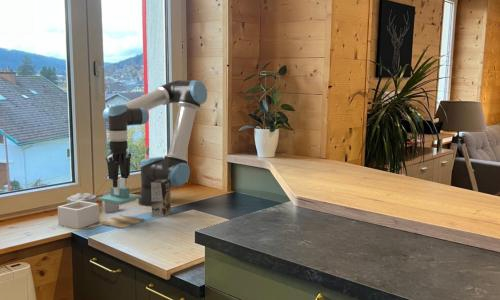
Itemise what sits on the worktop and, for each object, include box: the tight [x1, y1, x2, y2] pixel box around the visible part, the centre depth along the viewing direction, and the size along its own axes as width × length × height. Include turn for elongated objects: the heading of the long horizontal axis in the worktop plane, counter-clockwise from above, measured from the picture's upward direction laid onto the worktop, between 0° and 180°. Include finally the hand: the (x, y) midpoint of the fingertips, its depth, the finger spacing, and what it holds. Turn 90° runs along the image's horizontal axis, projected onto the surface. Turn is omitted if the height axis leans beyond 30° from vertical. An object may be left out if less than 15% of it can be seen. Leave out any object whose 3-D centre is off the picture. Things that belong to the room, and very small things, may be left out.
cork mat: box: [97, 214, 145, 229], centre depth 209 cm, size 14×14×1 cm
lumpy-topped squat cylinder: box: [66, 192, 98, 204], centre depth 224 cm, size 10×13×9 cm
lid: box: [97, 186, 142, 206], centre depth 207 cm, size 13×13×6 cm
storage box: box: [57, 201, 101, 230], centre depth 206 cm, size 12×12×8 cm
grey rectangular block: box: [101, 190, 120, 214], centre depth 226 cm, size 4×7×10 cm, turn 129°
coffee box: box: [151, 179, 172, 218], centre depth 220 cm, size 9×6×16 cm
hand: (120, 193), depth 207 cm, fingers closed on lid, 3 cm apart
